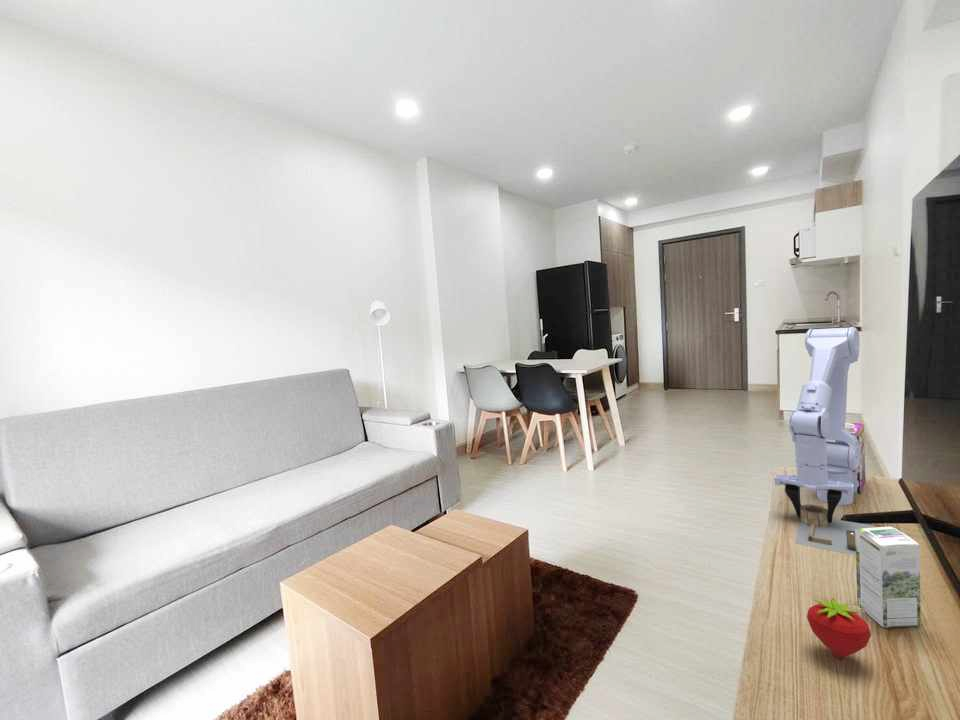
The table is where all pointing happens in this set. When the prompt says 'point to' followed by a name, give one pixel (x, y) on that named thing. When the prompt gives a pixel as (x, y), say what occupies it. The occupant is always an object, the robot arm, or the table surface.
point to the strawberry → (838, 628)
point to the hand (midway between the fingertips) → (814, 518)
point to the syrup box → (888, 576)
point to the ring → (814, 515)
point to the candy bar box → (859, 473)
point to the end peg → (851, 540)
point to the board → (828, 535)
